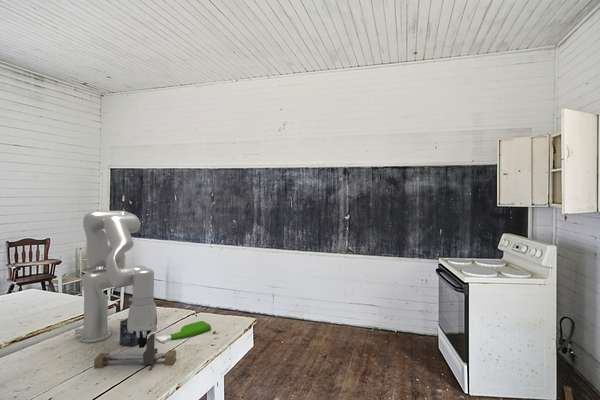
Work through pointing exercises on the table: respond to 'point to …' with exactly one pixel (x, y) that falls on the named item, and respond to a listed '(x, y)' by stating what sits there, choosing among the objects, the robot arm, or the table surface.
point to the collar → (150, 351)
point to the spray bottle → (187, 331)
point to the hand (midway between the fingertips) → (142, 346)
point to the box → (127, 335)
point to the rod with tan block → (133, 358)
